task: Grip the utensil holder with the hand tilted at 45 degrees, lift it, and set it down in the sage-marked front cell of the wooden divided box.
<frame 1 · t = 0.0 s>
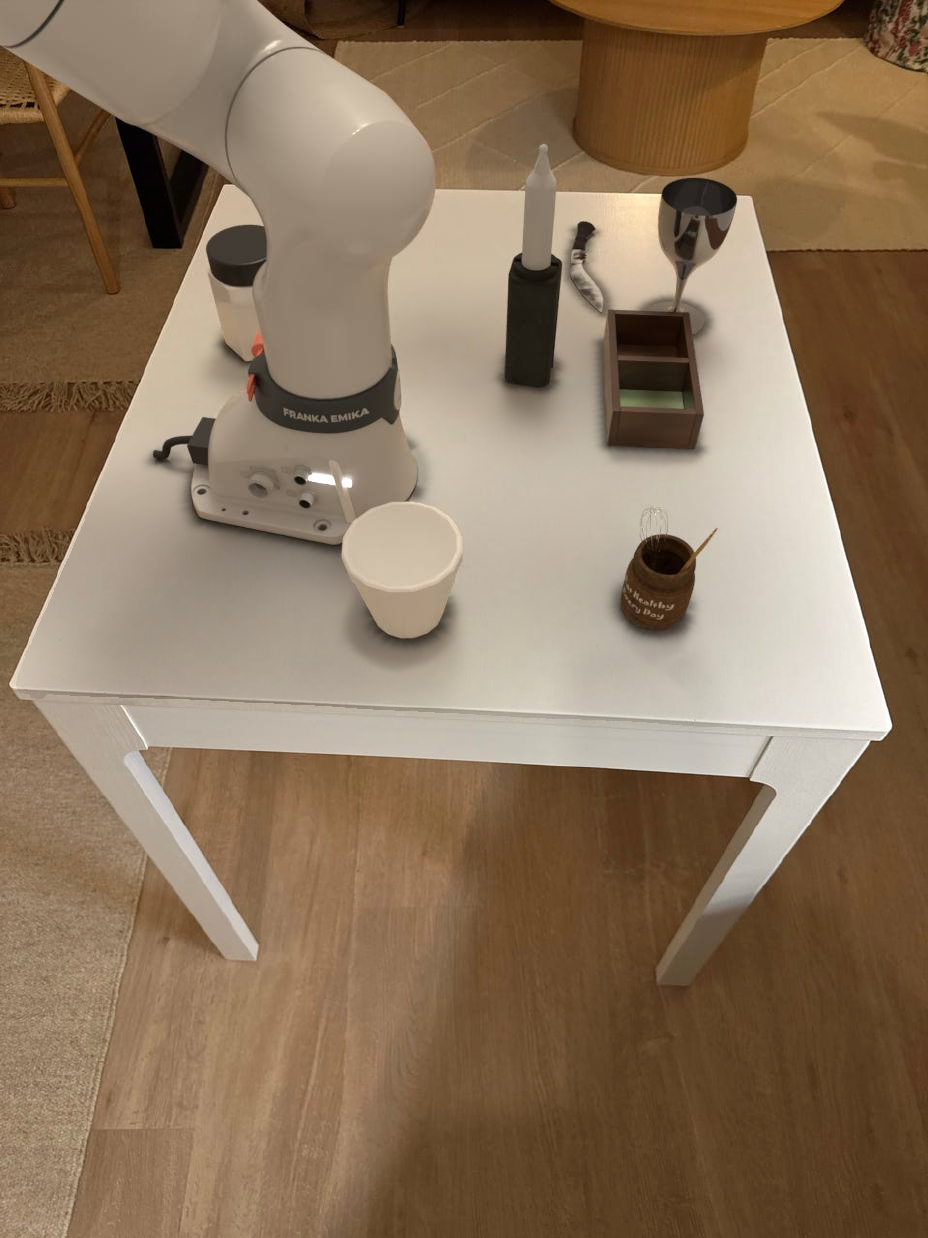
knife: (587, 271, 113), on the table
utensil holder: (653, 608, 81), on the table
cup: (408, 614, 80), on the table
candle: (528, 373, 101), on the table
wine glass: (673, 320, 107), on the table
wooden divided box: (646, 393, 99), on the table
jar: (264, 341, 105), on the table
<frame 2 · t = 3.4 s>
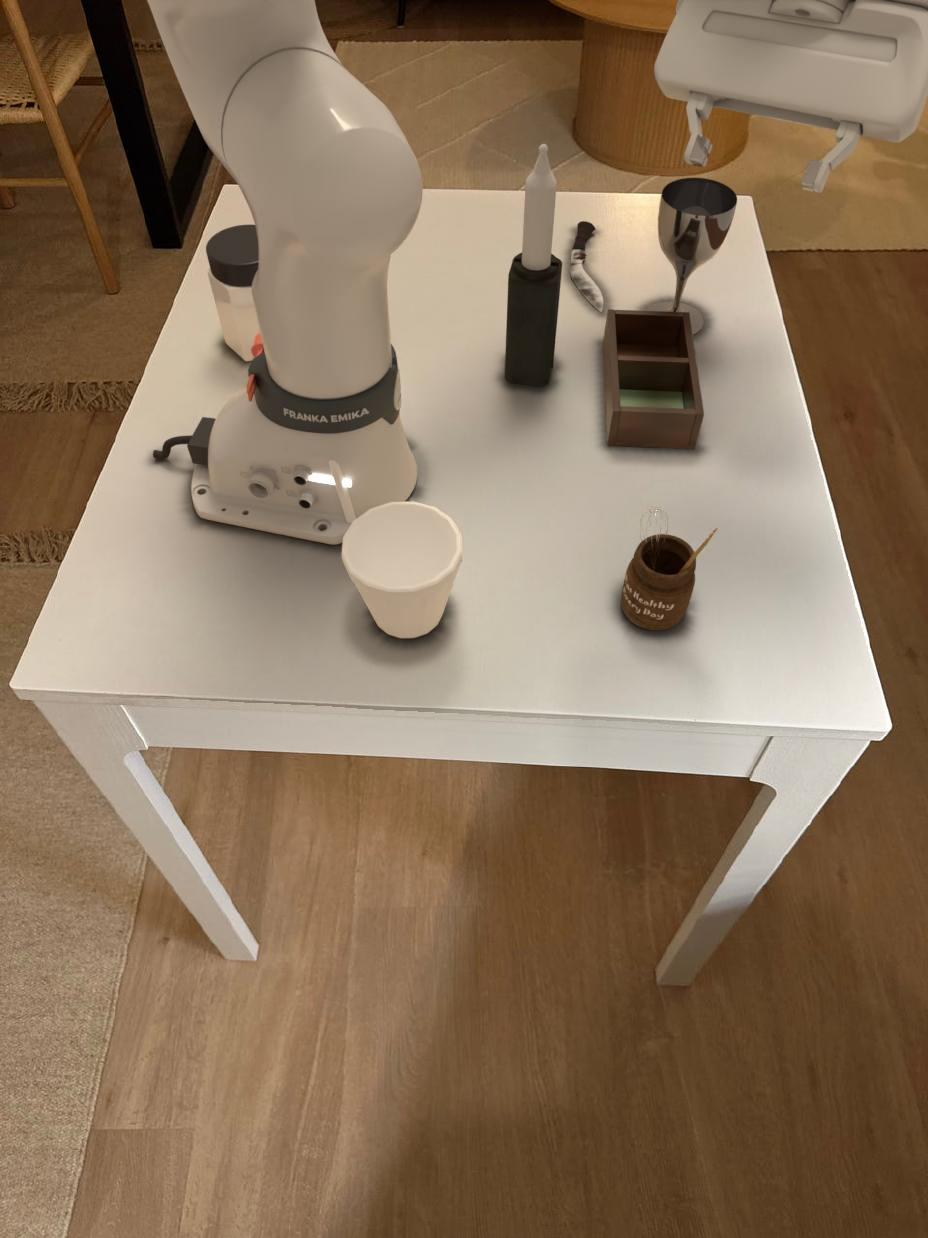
hand: (750, 176, 70), 29 cm above the table, tool tilted 40°, fingers open, 8 cm apart
nothing on the table moved.
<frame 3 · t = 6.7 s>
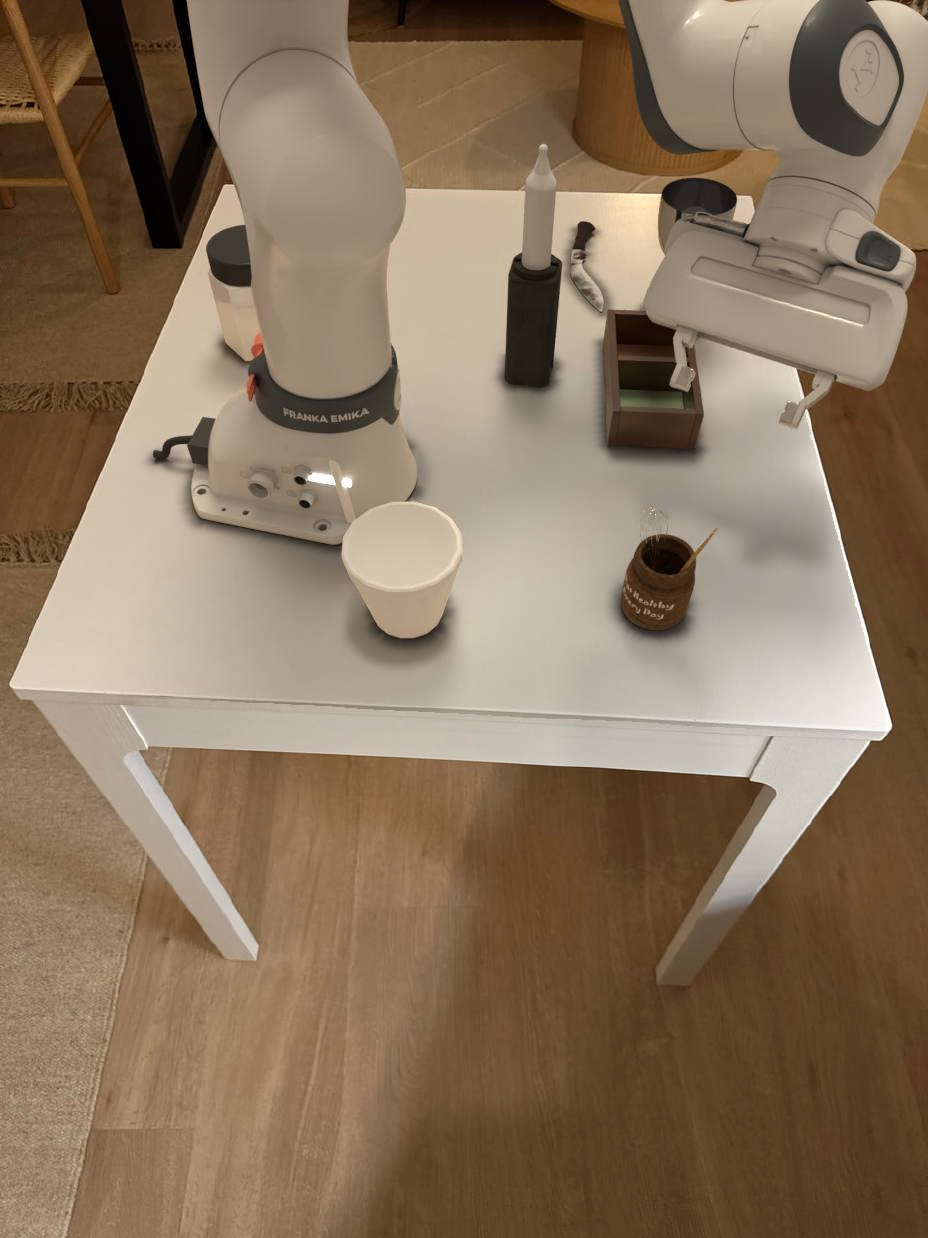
hand: (731, 406, 74), 15 cm above the table, tool tilted 45°, fingers open, 8 cm apart
nothing on the table moved.
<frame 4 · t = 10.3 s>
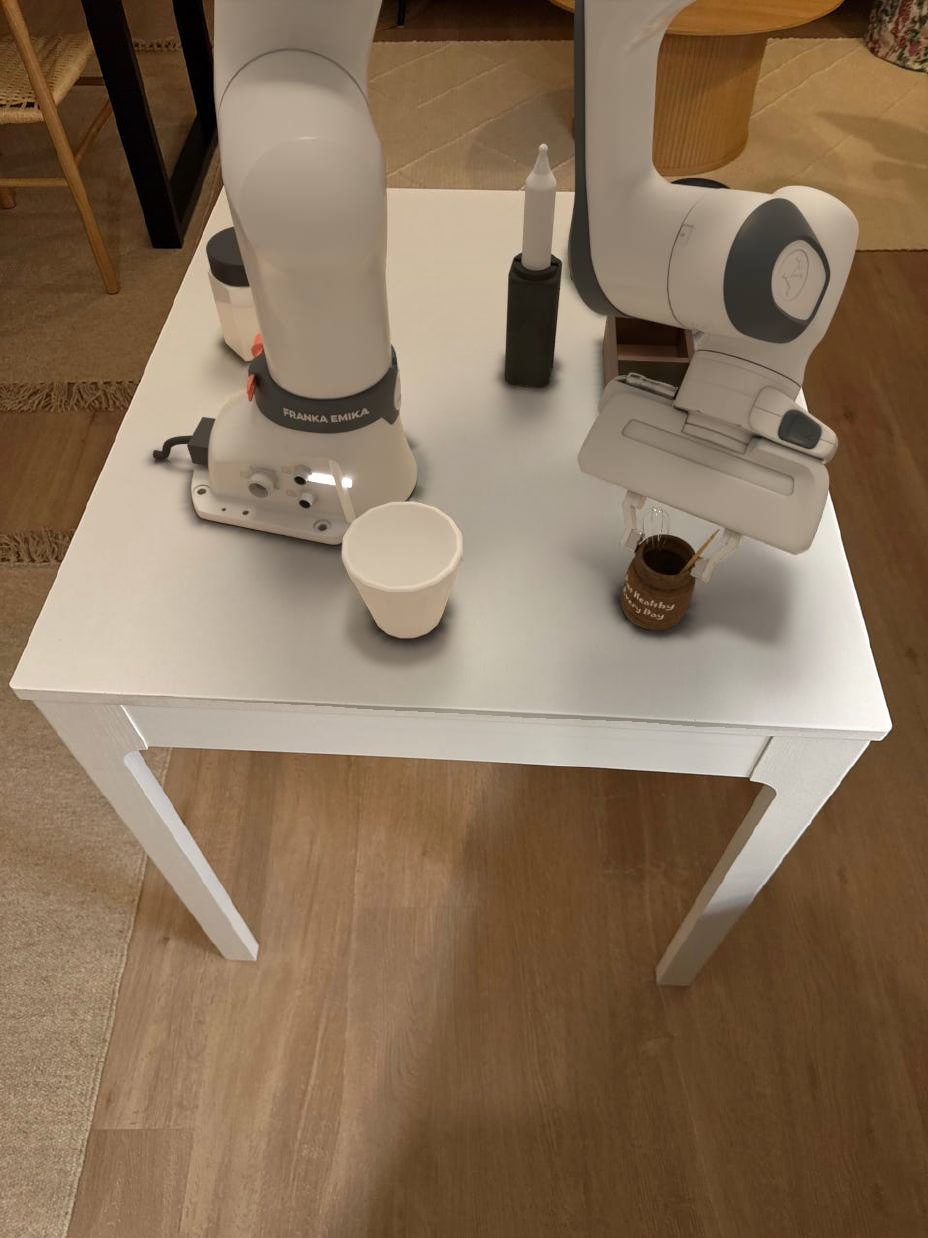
hand: (663, 564, 75), 7 cm above the table, tool tilted 45°, fingers closed on utensil holder, 5 cm apart
utensil holder: (653, 608, 81), on the table, touching gripper
everything else where it was.
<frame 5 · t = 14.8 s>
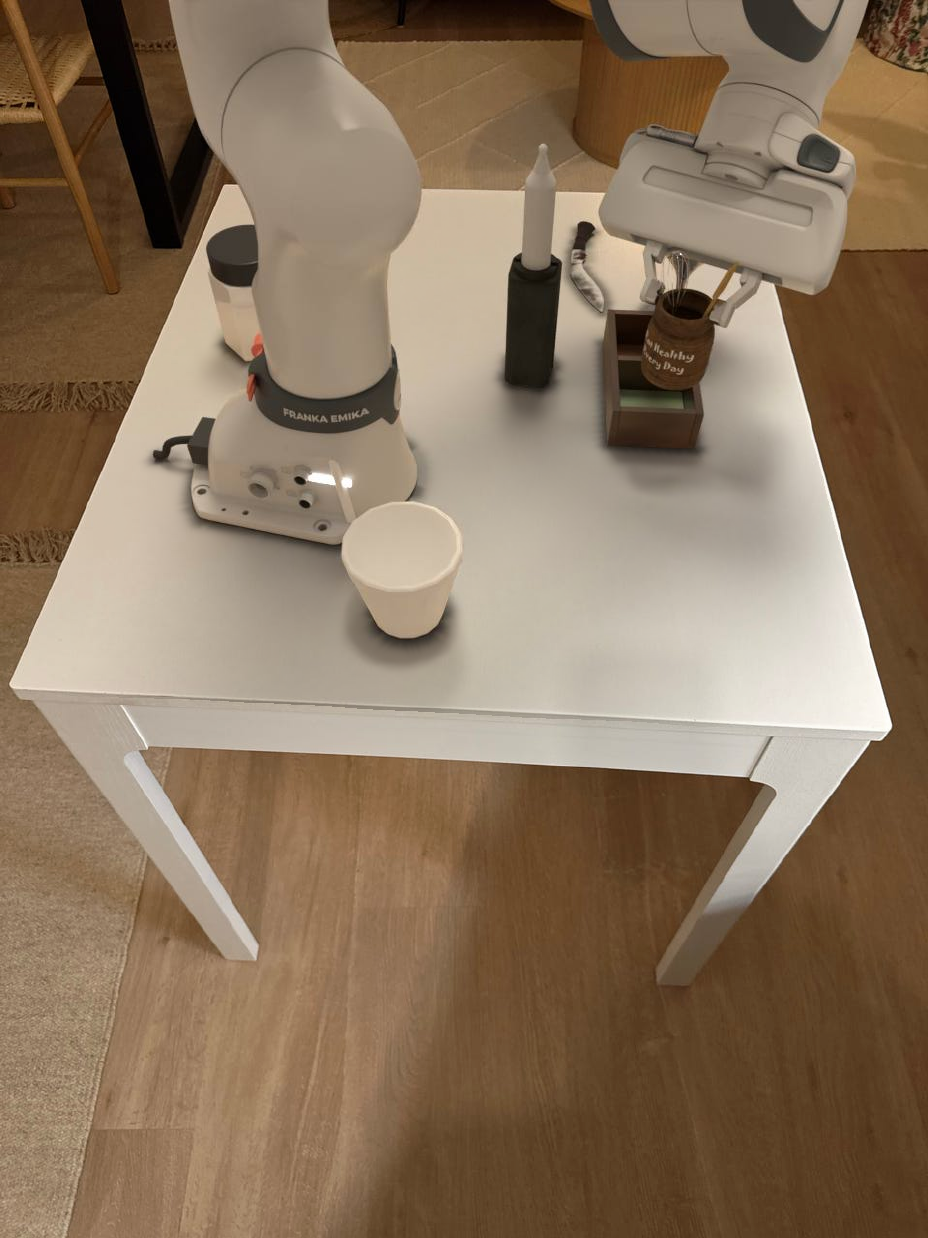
hand: (682, 313, 76), 18 cm above the table, tool tilted 45°, fingers closed on utensil holder, 5 cm apart
utensil holder: (672, 374, 82), point 12 cm above the table, touching gripper
everything else where it was.
when the fingers open (7 cm above the table, at t = 19.3 s): utensil holder stays where it is, resting on wooden divided box.
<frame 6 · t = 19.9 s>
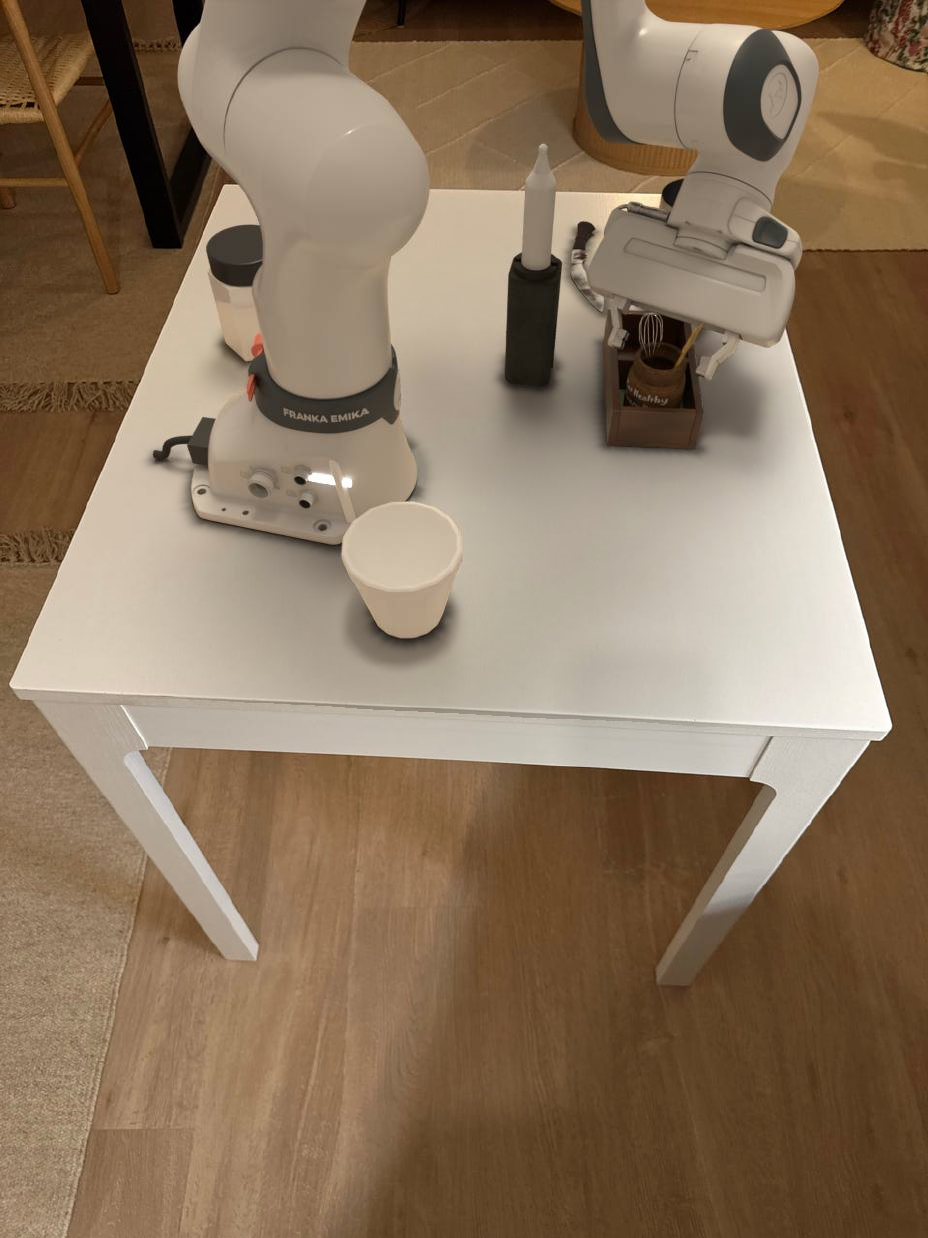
hand: (658, 362, 90), 8 cm above the table, tool tilted 45°, fingers open, 8 cm apart
utensil holder: (650, 413, 96), point 1 cm above the table, touching wooden divided box
everything else where it was.
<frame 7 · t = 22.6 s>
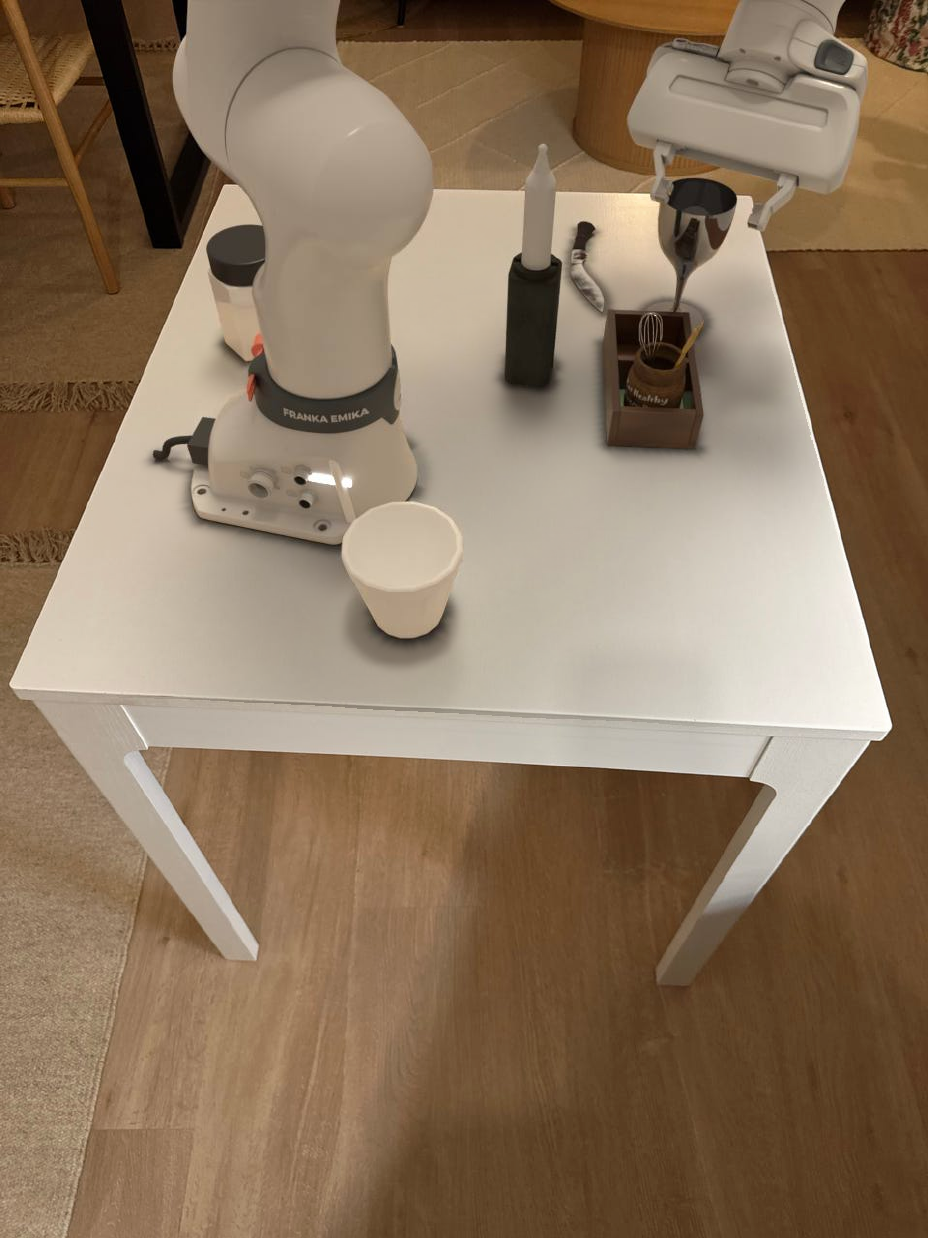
hand: (705, 213, 82), 21 cm above the table, tool tilted 45°, fingers open, 8 cm apart
nothing on the table moved.
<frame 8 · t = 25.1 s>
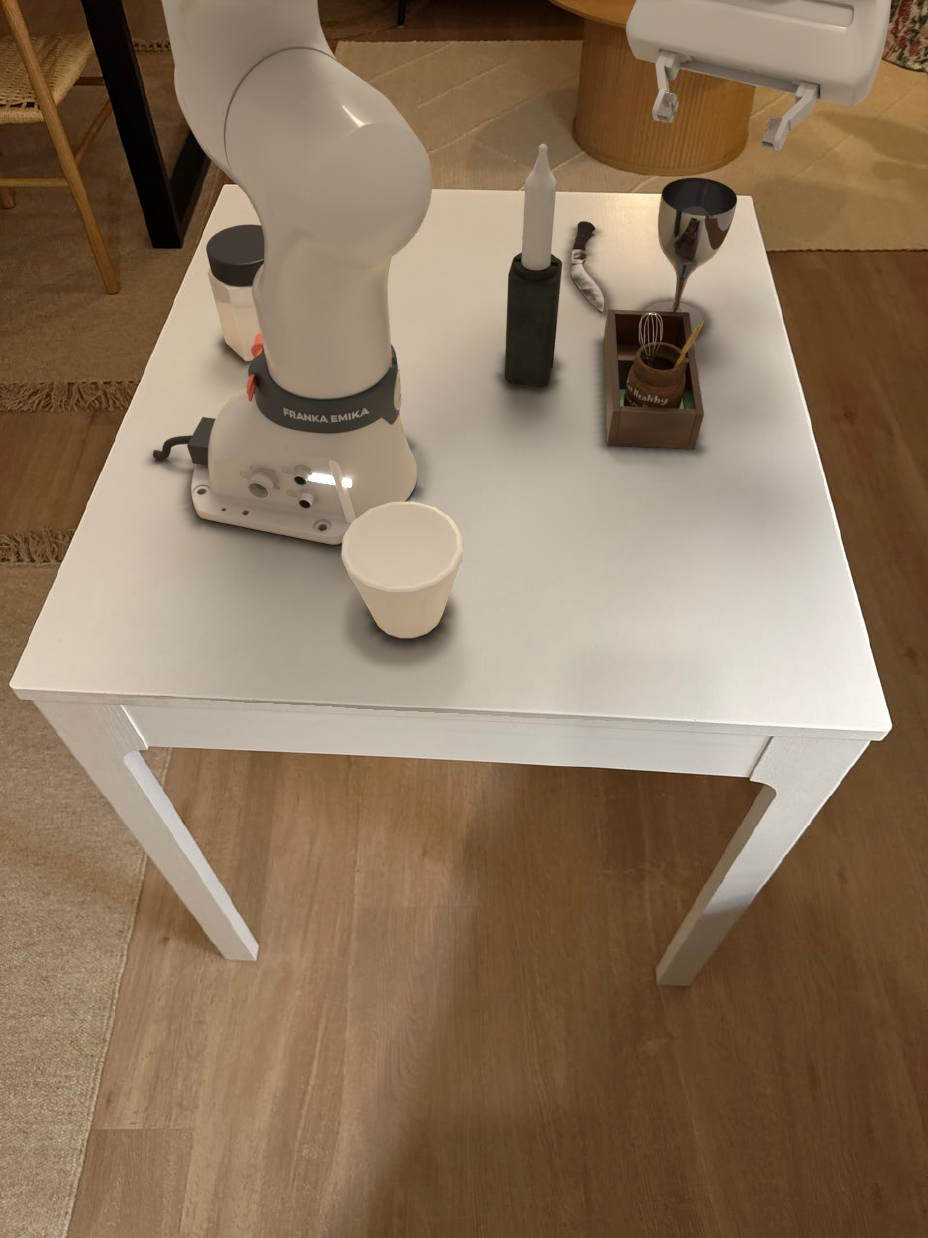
hand: (714, 132, 73), 29 cm above the table, tool tilted 45°, fingers open, 8 cm apart
nothing on the table moved.
at the end: utensil holder 0.1 cm from the target spot in the wooden divided box, point 0.6 cm above the wooden divided box's base; utensil holder tilted 0°; the gripper is holding nothing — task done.
